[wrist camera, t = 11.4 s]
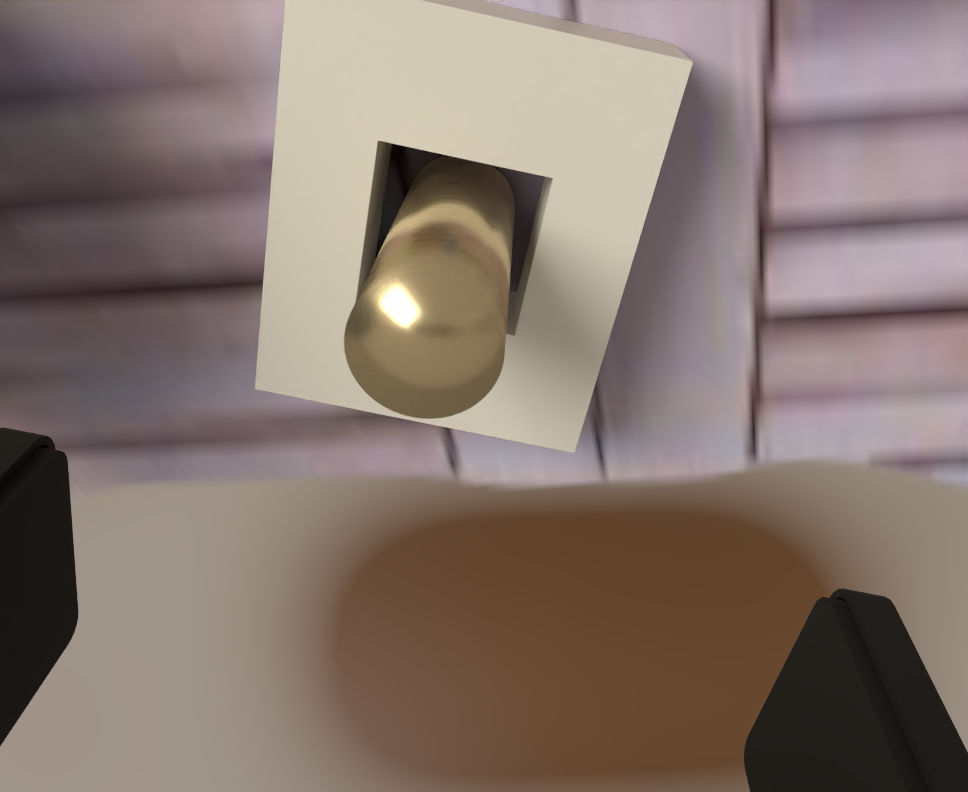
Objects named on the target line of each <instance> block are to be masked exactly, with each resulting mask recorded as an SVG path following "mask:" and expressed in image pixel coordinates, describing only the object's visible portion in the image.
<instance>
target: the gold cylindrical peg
mask: <svg viewBox="0 0 968 792" xmlns="http://www.w3.org/2000/svg"><path fill="white" fill-rule="evenodd" d="M514 216H515V202H514V196H513V192H512V189H511V187H510V185H509V183H508V181H507V179H506V178H505V176H504V175H503V174H502V173H501V172H500V171H499V170H498V168H496V167H495V166H494V165H489V164H485V163H480V162H475V161H471V160H466V159H462V158H457V157H452V156H448V155H445V156H442V157H439V158H437V159H435V160H433V161H431V162H430V163H428V164H427V165H426V166H425V167H424V168H423V169H422V170H421V171H420V172H419V173H418V174H417V176H416V177H415V179H414V181H413V182H412V184H411V186H410V188H409V191H408V193H407V195H406V197H405V199H404V201H403V203H402V205H401V207H400V210H399V212H398V214H397V216H396V218H395V220H394V222H393V224H392V226H391V229H390V231H389V233H388V235H387V237H386V239H385V241H384V243H383V245H382V248H381V250H380V252H379V254H378V256H377V258H376V260H375V262H374V264H373V267H372V269H371V271H370V273H369V275H368V277H367V279H366V281H365V283H364V286H363V288H362V290H361V292H360V294H359V296H358V298H357V300H356V302H355V305H354V307H353V309H352V311H351V313H350V315H349V318H348V321H347V323H346V328H345V333H344V350H345V355H346V360H347V363H348V366H349V368H350V371H351V373H352V374H353V376H354V378H355V380H356V381H357V383H358V384H359V385H360V387H361V388H362V389H363V390H364V391H365V392H366V393H367V394H368V395H369V396H370V397H371V398H372V399H374V400H375V401H376V402H378V403H379V404H381V405H382V406H384V407H386V408H388V409H389V410H391V411H394V412H396V413H399V414H402V415H405V416H409V417H414V418H421V419H435V418H444V417H449V416H453V415H456V414H459V413H461V412H463V411H466V410H468V409H470V408H471V407H473V406H474V405H476V404H477V403H479V402H480V401H481V400H482V399H483V398H485V396H486V395H487V394H488V393H489V392H490V391H491V390H492V388H493V387H494V385H495V384H496V382H497V380H498V378H499V376H500V373H501V370H502V367H503V363H504V357H505V343H506V329H507V315H508V301H509V287H510V273H511V259H512V245H513V230H514Z"/></svg>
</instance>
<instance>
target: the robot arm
mask: <svg viewBox="0 0 968 792" xmlns="http://www.w3.org/2000/svg"><path fill="white" fill-rule="evenodd" d="M76 588H77V587H76V575H75V559H74V545H73V531H72V517H71V502H70V488H69V473H68V461H67V456H66V455H65V453H64V452H62V451H58V450H55V445H54V442H53V441H52V439H51V438H50V437H48V436H44V435H39V434H34V433H28V432H23V431H18V430H13V429H8V428H0V746H1V744H2V743H3V741H4V740H5V738H6V737H7V735H8V734H9V732H10V731H11V729H12V727H13V726H14V725H15V723H16V722H17V720H18V719H19V717H20V716H21V714H22V713H23V711H24V710H25V708H26V707H27V705H28V704H29V702H30V701H31V699H32V698H33V696H34V695H35V693H36V692H37V690H38V689H39V687H40V686H41V684H42V683H43V681H44V680H45V678H46V677H47V675H48V674H49V672H50V671H51V669H52V668H53V666H54V665H55V663H56V662H57V660H58V659H59V657H60V656H61V654H62V653H63V651H64V650H65V648H66V647H67V645H68V644H69V642H70V640H71V638H72V636H73V634H74V631H75V628H76V625H77V620H78V601H77V589H76ZM744 752H745V753H744V764H745V770H746V775H747V779H748V784H749V788H750V792H968V752H967V751H966V748H965V746H964V744H963V742H962V740H961V738H960V736H959V734H958V732H957V730H956V728H955V726H954V724H953V722H952V720H951V718H950V716H949V715H948V712H947V710H946V708H945V706H944V704H943V702H942V700H941V698H940V696H939V694H938V692H937V690H936V688H935V686H934V684H933V682H932V680H931V678H930V676H929V674H928V672H927V670H926V668H925V666H924V664H923V662H922V660H921V658H920V656H919V654H918V652H917V650H916V648H915V646H914V644H913V642H912V640H911V638H910V636H909V634H908V632H907V630H906V628H905V626H904V624H903V622H902V620H901V618H900V616H899V614H898V612H897V610H896V608H895V606H894V604H893V603H892V602H891V600H890V599H888V598H886V597H884V596H879V595H873V594H868V593H863V592H858V591H852V590H847V589H838V590H836V591H835V592H834V593H833V594H832V595H831V597H830V598H826V597H822V598H820V599H819V600H818V601H817V602H816V604H815V605H814V607H813V609H812V611H811V613H810V615H809V617H808V619H807V621H806V623H805V625H804V627H803V629H802V631H801V633H800V635H799V637H798V639H797V641H796V643H795V645H794V647H793V648H792V650H791V652H790V654H789V656H788V658H787V660H786V662H785V664H784V666H783V668H782V670H781V672H780V674H779V676H778V678H777V680H776V682H775V684H774V686H773V688H772V690H771V692H770V694H769V696H768V698H767V700H766V702H765V704H764V706H763V708H762V710H761V712H760V714H759V716H758V718H757V720H756V722H755V724H754V726H753V728H752V729H751V732H750V733H749V735H748V738H747V741H746V745H745V751H744Z"/></svg>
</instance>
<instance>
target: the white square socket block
mask: <svg viewBox="0 0 968 792" xmlns="http://www.w3.org/2000/svg"><path fill="white" fill-rule="evenodd" d="M692 64H693V61H692V60H691V59H690V58H689V57H688V56H686V55H685V54H684V53H683V52H682V51H681V50H680V49H678V48H677V47H676V46H675V45H674V44H670V43H665V42H661V41H656V40H652V39H647V38H643V37H639V36H634V35H630V34H625V33H621V32H616V31H612V30H608V29H603V28H599V27H594V26H590V25H586V24H581V23H577V22H572V21H568V20H563V19H559V18H555V17H550V16H546V15H541V14H537V13H532V12H528V11H524V10H519V9H515V8H510V7H506V6H502V5H497V4H493V3H488V2H484V1H479V0H285V13H284V25H283V38H282V51H281V63H280V76H279V89H278V101H277V114H276V127H275V139H274V152H273V165H272V178H271V190H270V203H269V216H268V228H267V241H266V254H265V266H264V279H263V292H262V304H261V317H260V330H259V342H258V355H257V368H256V380H255V389H257V390H262V391H267V392H272V393H277V394H282V395H287V396H292V397H297V398H302V399H307V400H312V401H317V402H322V403H327V404H332V405H337V406H342V407H347V408H352V409H357V410H362V411H367V412H372V413H377V414H382V415H387V416H392V417H397V418H402V419H407V420H412V421H417V422H422V423H427V424H432V425H437V426H442V427H447V428H452V429H457V430H462V431H467V432H472V433H477V434H482V435H487V436H492V437H497V438H502V439H507V440H512V441H517V442H522V443H527V444H532V445H537V446H542V447H547V448H552V449H557V450H562V451H567V452H572V453H575V450H576V446H577V443H578V440H579V436H580V433H581V430H582V427H583V423H584V420H585V417H586V413H587V410H588V407H589V404H590V400H591V397H592V394H593V390H594V387H595V384H596V380H597V377H598V374H599V371H600V367H601V364H602V361H603V357H604V354H605V351H606V347H607V344H608V341H609V338H610V334H611V331H612V328H613V324H614V321H615V318H616V315H617V311H618V308H619V305H620V301H621V298H622V295H623V291H624V288H625V285H626V282H627V278H628V275H629V272H630V268H631V265H632V262H633V258H634V255H635V252H636V249H637V245H638V242H639V239H640V235H641V232H642V229H643V226H644V222H645V219H646V216H647V212H648V209H649V206H650V202H651V199H652V196H653V193H654V189H655V186H656V183H657V179H658V176H659V173H660V169H661V166H662V163H663V160H664V156H665V153H666V150H667V146H668V143H669V140H670V137H671V133H672V130H673V127H674V123H675V120H676V117H677V113H678V110H679V107H680V104H681V100H682V97H683V94H684V90H685V87H686V84H687V80H688V77H689V74H690V71H691V67H692ZM392 144H397V145H401V146H406V147H411V148H415V149H420V150H425V151H429V152H434V153H438V154H443V155H448V156H452V157H457V158H462V159H466V160H471V161H475V162H480V163H485V164H489V165H494V166H498V167H503V168H508V169H512V170H517V171H522V172H526V173H531V174H535V175H540V176H544V180H543V185H542V189H541V193H540V197H539V201H538V206H537V210H536V214H535V218H534V223H533V227H532V231H531V235H530V239H529V244H528V248H527V252H526V256H525V260H524V265H523V269H522V273H521V277H520V282H519V286H518V290H517V292H514V291H509V301H508V315H507V329H506V343H505V357H504V363H503V367H502V370H501V373H500V376H499V378H498V380H497V382H496V384H495V385H494V387H493V388H492V390H491V391H490V392H489V393H488V394H487V395H486V396H485V398H483V399H482V400H481V401H480V402H479V403H477V404H476V405H474V406H473V407H471V408H470V409H468V410H466V411H463V412H461V413H459V414H456V415H453V416H449V417H444V418H435V419H421V418H414V417H409V416H405V415H402V414H399V413H396V412H394V411H391V410H389V409H388V408H386V407H384V406H382V405H381V404H379V403H378V402H376V401H375V400H374V399H372V398H371V397H370V396H369V395H368V394H367V393H366V392H365V391H364V390H363V389H362V388H361V387H360V385H359V384H358V383H357V381H356V380H355V378H354V376H353V374H352V373H351V371H350V368H349V366H348V363H347V360H346V355H345V350H344V333H345V328H346V323H347V321H348V318H349V315H350V313H351V311H352V309H353V307H354V305H355V302H356V300H357V298H358V296H359V294H360V292H361V290H362V288H363V286H364V283H365V281H366V279H367V277H368V275H369V273H370V271H371V269H372V267H373V264H374V262H375V257H376V250H377V243H378V236H379V229H380V222H381V216H382V209H383V202H384V195H385V188H386V181H387V175H388V168H389V161H390V154H391V147H392Z"/></svg>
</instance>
